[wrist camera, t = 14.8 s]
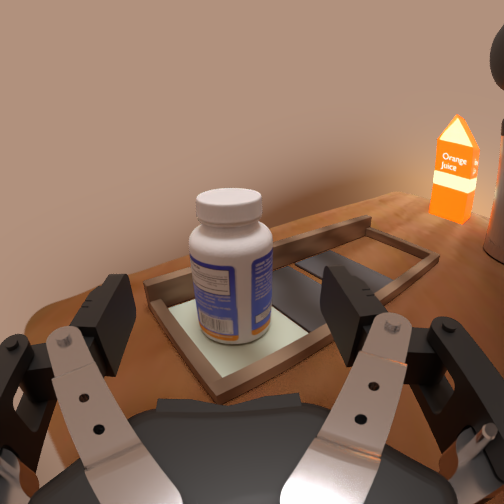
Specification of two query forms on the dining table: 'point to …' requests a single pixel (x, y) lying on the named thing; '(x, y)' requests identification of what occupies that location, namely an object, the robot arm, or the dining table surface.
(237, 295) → the pill bottle
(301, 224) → the dining table surface
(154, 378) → the dining table surface
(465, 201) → the orange juice
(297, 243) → the tray
